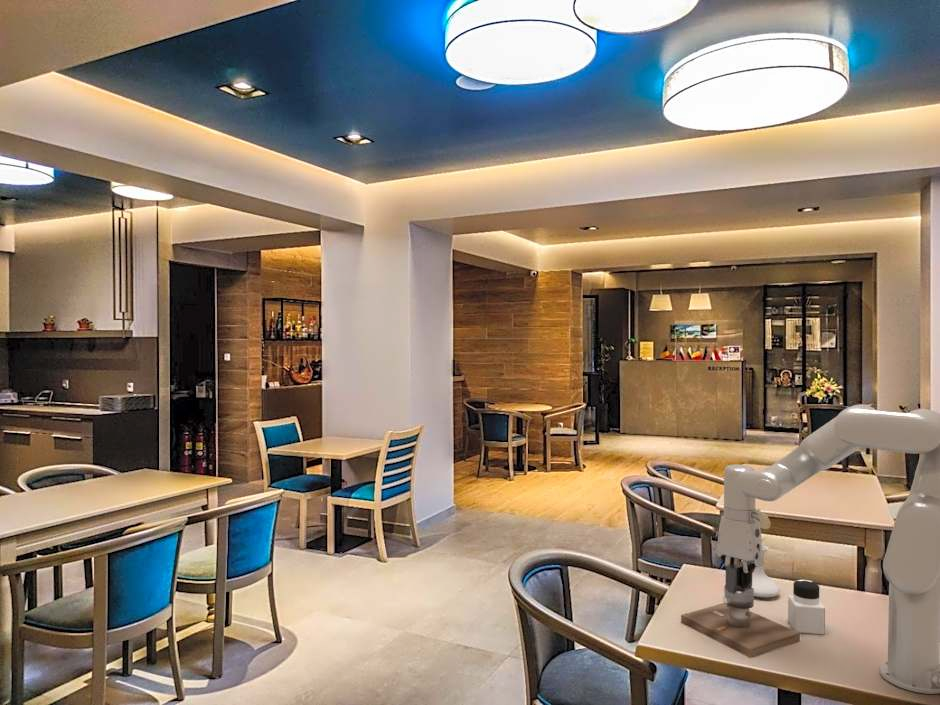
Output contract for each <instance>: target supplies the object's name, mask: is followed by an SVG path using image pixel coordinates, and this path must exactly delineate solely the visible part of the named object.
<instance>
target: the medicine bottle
mask: <svg viewBox="0 0 940 705" xmlns="http://www.w3.org/2000/svg"><path fill="white" fill-rule="evenodd" d="M792 585H793V588H792V589H793V591H792V594H791V595H790V594H788V596H787V598H788V600H787V622H788V623H789V625H790V626H791V629H792V630H795V631H797V632H799V633H800V634H810V635H811V634H814V635H826V632H825V631H826V607H825V606H824V605H823V603H822V602H821V601H820V586H819V584H818V583H817V582H814V581H813V580H807V579H798V580H795V581H794V582H793V584H792Z"/></svg>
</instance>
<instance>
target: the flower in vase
mask: <svg viewBox="0 0 940 705" xmlns="http://www.w3.org/2000/svg"><path fill="white" fill-rule="evenodd" d="M755 509H756V512H757V513H760V518H759V519H758V518H756V519H755V520H757V521H759V525H760V529H762V530H768V529H770V530H771V519H769V516H768V515H767V514H765V512H763V511H762V510H761V509H760V508H756V507H755ZM766 539H767V537H766V538H762V542H764V541H765V540H766ZM767 551H769V547H767V546H766V545H763V544H762V558H763V560H765V555H766V553H767ZM754 562H756V559H755V560H754ZM752 588H753V589H754V597H757V598H773V597H777V596H778V595H779V594H780V593H781V589H780V586H779V585H778V584H777V583H776V582H775V581H774V580H772V578H770V577H769V576H768V575H767V574H766V573H765V571H764V565H763V566H760V567H756V568H754V569H753V571H752Z"/></svg>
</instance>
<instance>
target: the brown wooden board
mask: <svg viewBox="0 0 940 705" xmlns="http://www.w3.org/2000/svg"><path fill="white" fill-rule="evenodd" d="M680 622H681V623H682V624H683V623H684V625H685V624H686V626H687V627H690V628H691V629H694V630H695V631H698V632H700V633H701V634H703V635H706V636H708V637H709V638H712V639H713V640H715V641H717V642H719V643H721V644H723V645H725V646H727V647H728V648H731V649H733V650H735V651H736V652H739V653H741V654H743V655H744V656H747V657H749V658H750V659H751V658H754V657H756V656H760V655H763V654H765V653H768V652H769V653H770V652H771V651H774V650H777V649H780V648H783V647H785V646H788V645H792V644H794V643H797V642H800V641H801V633H799V632H797V631H795V630H794V629H793V628H790V627H788V626H785V625H784V624H781V623H778V622H776V621H774V620H771V619H769V618H767V617H765V616H762V615H760V614H758V613H756V612H753V611H751V610H750V608H749V609H739V608H734V607H731V606H728V605H727V604H725V603H724V602H721V603H719V604H715V605H712V606H711V605H710V606H708V607H705V608H704V607H703V608H701V609H697V610H694V611H691V612H687V613H684V614H680Z"/></svg>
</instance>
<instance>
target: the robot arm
mask: <svg viewBox="0 0 940 705" xmlns="http://www.w3.org/2000/svg"><path fill="white" fill-rule="evenodd" d="M861 448H864V449H871V450H880V451H887V452H894V453H896V452H897V453H902V454H903V453H904V454H916V455H917V454H918V455H919V457H918V458H919V459H918V463H917V466H916V470H915V471H914V472H915V473H914V477H913V481H912V484H911V488H910V490H909V493H908V496H907V498H906V499H905V501H903V503H902V505H901V506H900V508H899V509H898V511H897V514H896V517H895V520H894V524H893V527H892V530H891V533H890V538H889V540H888V543H887V547H886V551H885V555H884V557H883V562H882V568H883V574H884V576H885V578H886V580H887V581H888V583H889V586H888V616H887V617H888V622H887V625H888V627H887V628H888V629H887V630H888V632H887V633H888V634H887V661H884V662H882V663H881V664H880V665H879V673H880V676H882V678H883V679H884V680H885V681H887V682H889V683H890V684H892V685H894V686H896V687H899V688H900V689H904V690H907V691H909V692H914V693H920V694H928V695H937V694H940V413H939V412H937V411H935V410H931V409H929V408H928V409H926V408H918V409H914V410H911V411H909V412H896V411H883V410H877V409H875V407H873V406H870V405H867V404H854V405H851V406H849V407H847V408H845V409H843V410H841V411H840V412H839V413H838V415H836V416H835V417H833V418H832V419H831V420H830V421H828V422H826V423H825V424H824V425H822V426H820V427H819V428H818V429H816V430H815V431H813V432H812V433H811V434H809V435H808V436H806V437H805V438H804V439H803V440H802V441H801V442H800V444H799V445H798V446H797V447H796V448H795V449H793V450H792V451H791V452H789V453H788V454H786V455H785V456H784V457H782V458H780V459H779V460H778V461H776V462H775V463H773V464H772V465H769V466H768V467H766V468H764V469H760V470H755V469H754V467H752V466H750V465H746V464H729V465H727V466H726V467H724V471H723V476H724V477H723V515H721V518H720V521H719V525H718V534H717V546H716V547H715V550H714V554H715V555H716V556H718V558H720V559H721V561H722V562H723V564H724V567H725V568H726V566H729V565H732V564H735V561H736V559H737V560H740V561H741V562H742V561H743V572H741V587H742V588H745V587H747V586H749V584H750V583H751V571H752V572H753V571H754V570H755V568H756V567H760V566H763V567H764V565H765V564H766V563H765V561H764V560H765V559H764V560H763V558H762V545H763V541H762V539H763V538H762V530H761V528H760V525H759V521H757V520H755V519H756V518H758V519H759V518H760V513H757V512H756V509H757V508H756V499H757V500H760V501H763V502H775V501H778V500H779V499H780V498H782V497H784V495H785V496H786V494H788V493H790V492H791V491H793V490H794V489H795V488H796V487H798V486H800V485H801V484H803V483H804V482H806V481H807V480H808V479H811V478H812V477H813V476H815V475H817V474H818V473H820V472H822V471H826V470H829V469H830V468H832V467H833V466H835V465H836V464H838V463H839V462H841V461H843V460H844V459H846V458H848V457H849V456H850V455H851V454H853V453H855V452H857V451H858V450H860V449H861ZM755 508H756V509H755ZM755 559H756V562H755Z"/></svg>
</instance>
